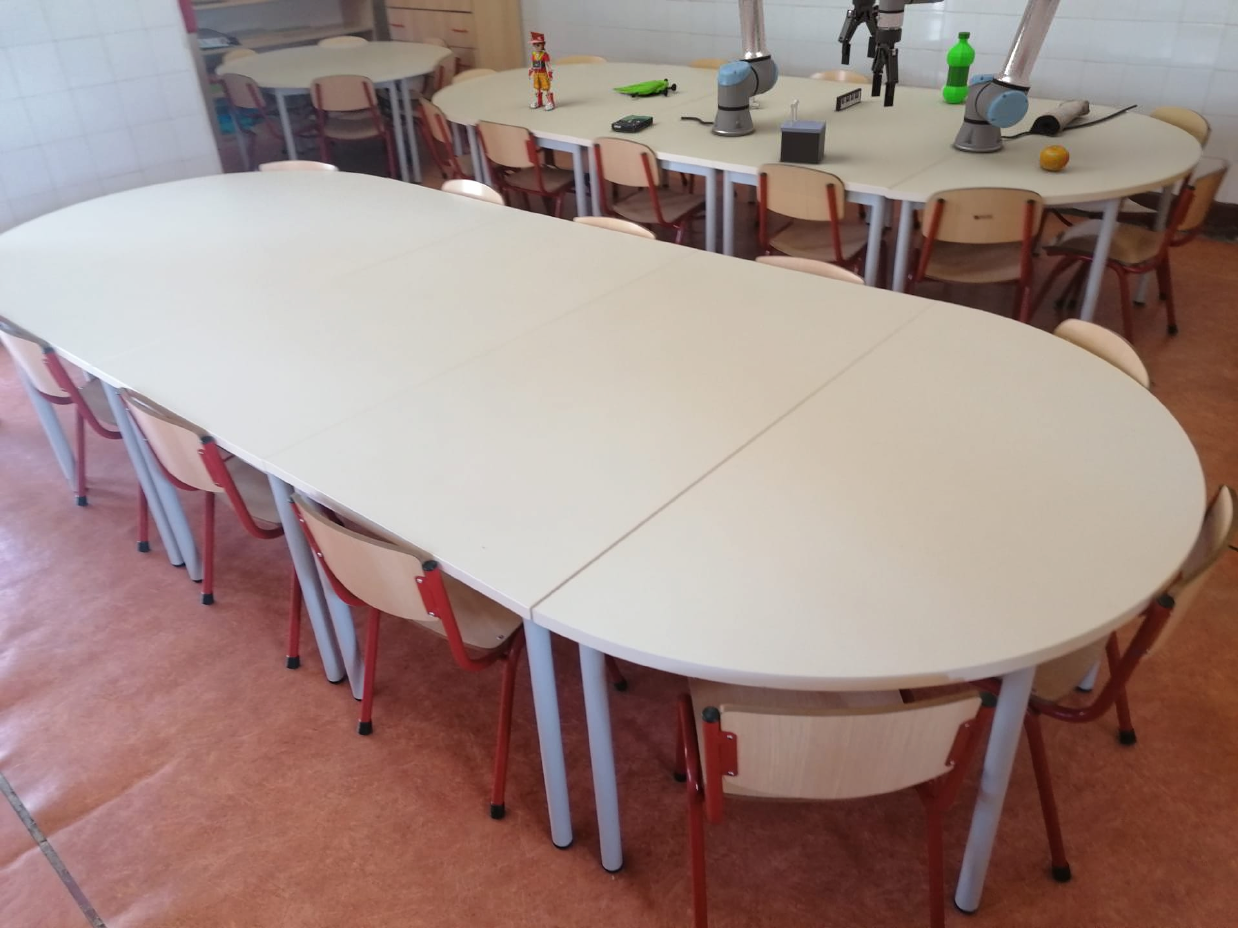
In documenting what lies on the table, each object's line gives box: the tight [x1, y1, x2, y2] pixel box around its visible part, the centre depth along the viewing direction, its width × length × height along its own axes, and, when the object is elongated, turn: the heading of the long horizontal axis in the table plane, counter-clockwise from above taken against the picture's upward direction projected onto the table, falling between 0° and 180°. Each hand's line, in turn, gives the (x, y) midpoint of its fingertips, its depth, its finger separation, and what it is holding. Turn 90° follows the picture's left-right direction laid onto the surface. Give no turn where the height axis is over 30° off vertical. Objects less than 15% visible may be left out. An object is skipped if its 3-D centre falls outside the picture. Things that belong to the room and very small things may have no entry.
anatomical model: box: [749, 95, 761, 109], centre depth 365 cm, size 15×10×10 cm
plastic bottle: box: [942, 31, 976, 104], centre depth 348 cm, size 10×10×25 cm
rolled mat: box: [1028, 99, 1091, 137], centre depth 319 cm, size 30×9×10 cm
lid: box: [779, 98, 827, 133], centre depth 296 cm, size 13×10×8 cm
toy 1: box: [527, 31, 556, 111], centre depth 374 cm, size 12×9×30 cm
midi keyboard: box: [835, 87, 863, 112], centre depth 357 cm, size 18×1×5 cm, turn 138°
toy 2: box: [612, 78, 677, 99], centre depth 396 cm, size 28×5×30 cm
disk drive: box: [610, 114, 654, 133], centre depth 348 cm, size 10×3×15 cm
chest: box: [779, 125, 827, 165], centre depth 301 cm, size 13×10×10 cm
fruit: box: [1038, 144, 1071, 172], centre depth 279 cm, size 8×8×8 cm
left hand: (858, 61), depth 304 cm, fingers open, 13 cm apart
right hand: (881, 101), depth 282 cm, fingers open, 13 cm apart
